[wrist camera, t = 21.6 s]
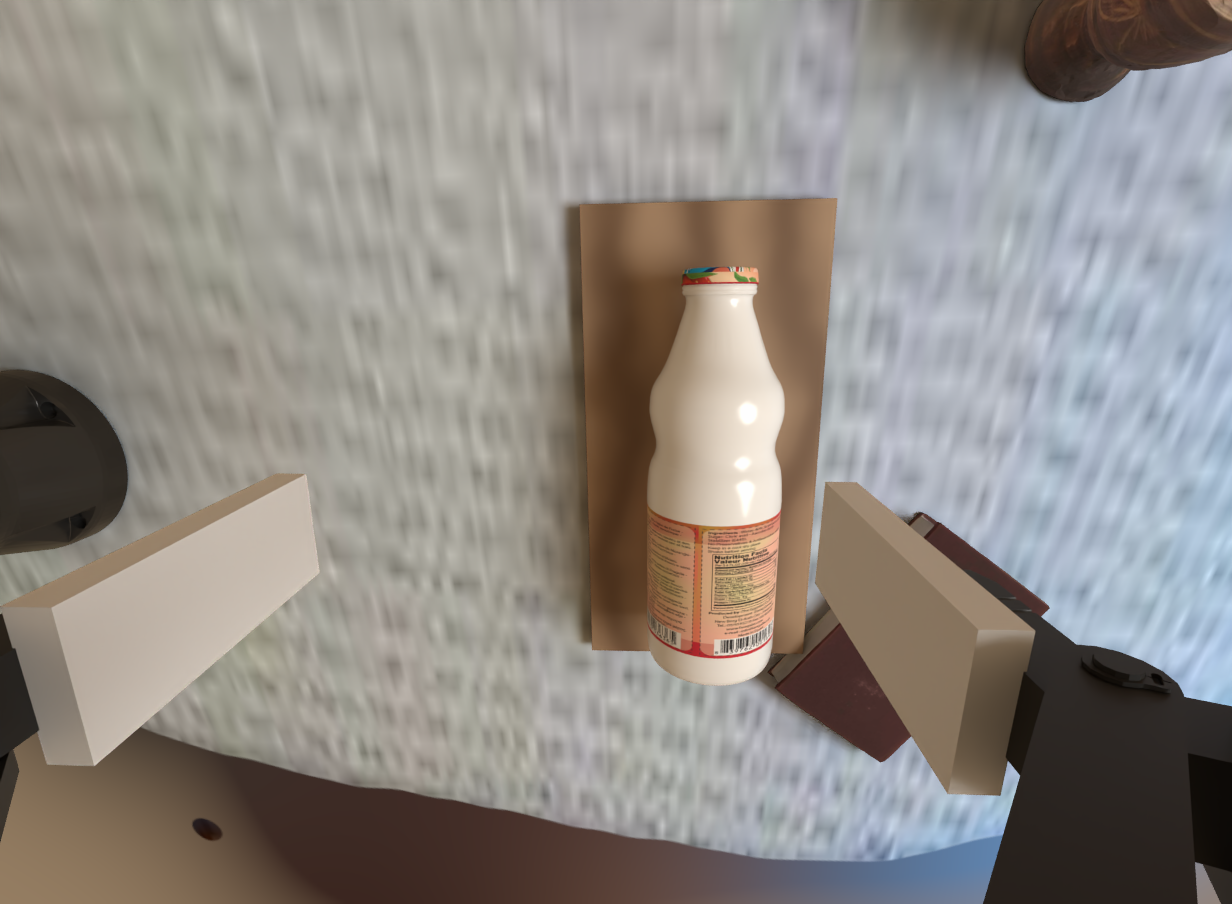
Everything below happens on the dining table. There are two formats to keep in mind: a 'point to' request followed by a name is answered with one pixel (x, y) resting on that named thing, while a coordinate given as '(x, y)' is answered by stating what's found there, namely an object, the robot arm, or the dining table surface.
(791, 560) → the walnut board
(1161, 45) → the mortar and pestle
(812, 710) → the book
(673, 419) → the fruit juice
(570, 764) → the dining table surface
